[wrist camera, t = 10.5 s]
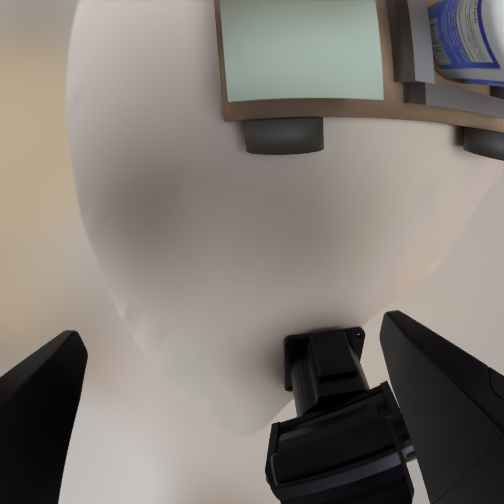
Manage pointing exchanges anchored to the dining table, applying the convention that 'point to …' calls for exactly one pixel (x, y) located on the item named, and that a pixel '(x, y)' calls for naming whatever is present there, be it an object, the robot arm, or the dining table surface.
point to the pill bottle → (468, 40)
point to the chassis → (341, 72)
